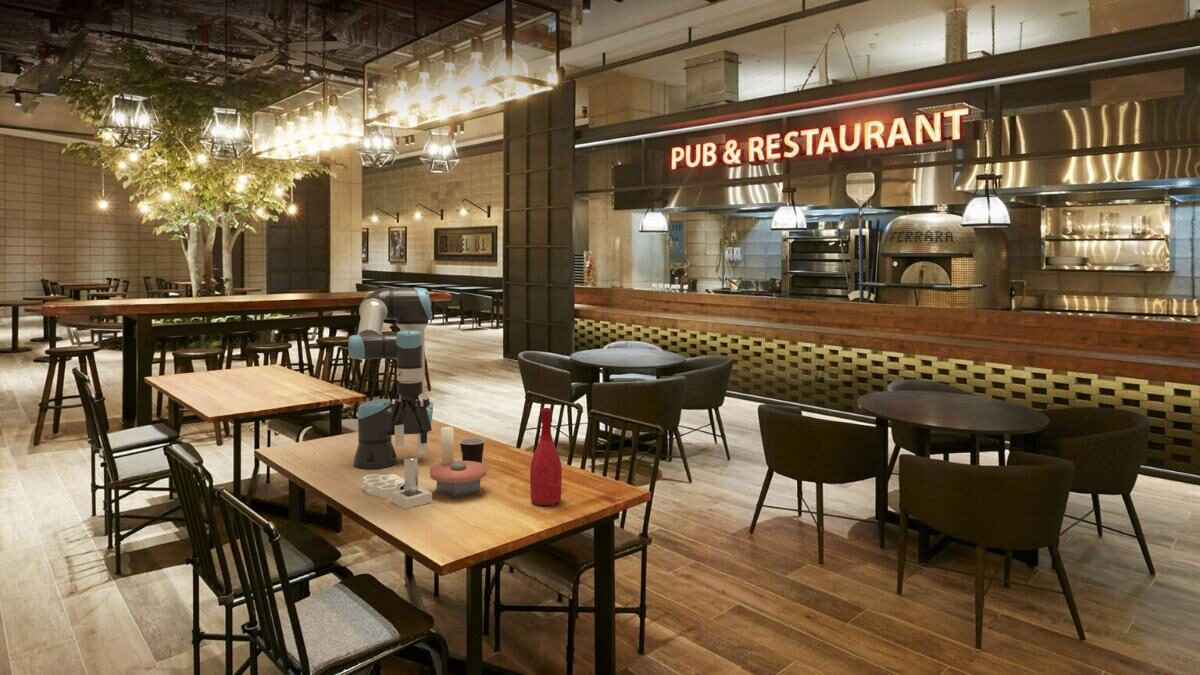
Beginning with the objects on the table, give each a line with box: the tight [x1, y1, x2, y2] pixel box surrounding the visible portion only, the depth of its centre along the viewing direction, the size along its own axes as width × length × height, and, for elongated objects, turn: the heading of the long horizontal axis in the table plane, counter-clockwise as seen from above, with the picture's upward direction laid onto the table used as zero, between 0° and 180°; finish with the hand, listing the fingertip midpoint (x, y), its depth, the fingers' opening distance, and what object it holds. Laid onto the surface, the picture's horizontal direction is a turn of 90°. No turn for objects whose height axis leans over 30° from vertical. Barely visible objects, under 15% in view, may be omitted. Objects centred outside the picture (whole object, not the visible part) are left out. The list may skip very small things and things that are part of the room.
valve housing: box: [436, 479, 481, 500], centre depth 233 cm, size 10×10×6 cm
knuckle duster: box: [359, 473, 405, 499], centre depth 235 cm, size 3×18×15 cm
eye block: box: [390, 486, 433, 510], centre depth 223 cm, size 9×9×3 cm
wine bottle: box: [529, 407, 563, 506], centre depth 224 cm, size 10×10×30 cm
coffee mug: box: [459, 438, 485, 464], centre depth 261 cm, size 12×9×10 cm
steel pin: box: [403, 456, 419, 497], centre depth 223 cm, size 4×4×14 cm
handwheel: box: [429, 426, 488, 483], centre depth 232 cm, size 18×18×14 cm
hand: (410, 449), depth 221 cm, fingers open, 13 cm apart
